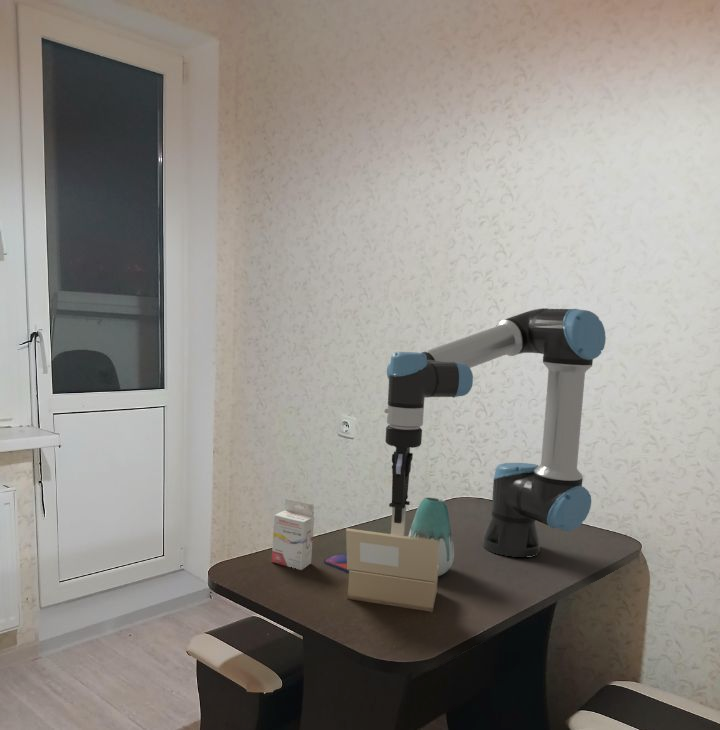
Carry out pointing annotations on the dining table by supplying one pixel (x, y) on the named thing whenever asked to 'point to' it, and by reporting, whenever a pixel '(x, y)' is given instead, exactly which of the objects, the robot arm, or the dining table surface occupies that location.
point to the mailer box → (392, 591)
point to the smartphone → (338, 562)
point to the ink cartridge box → (293, 535)
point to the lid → (392, 555)
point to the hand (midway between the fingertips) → (397, 536)
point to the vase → (435, 529)
